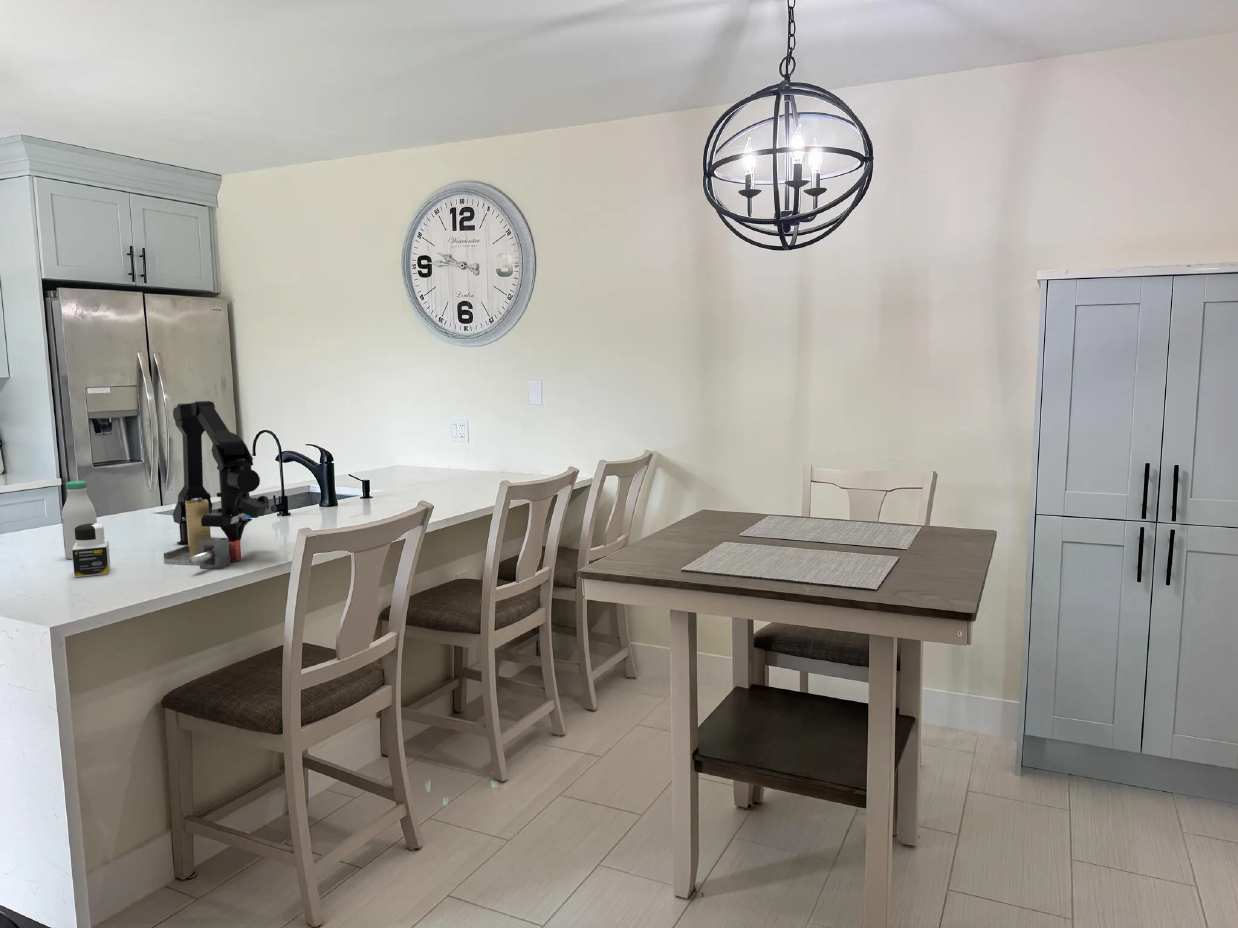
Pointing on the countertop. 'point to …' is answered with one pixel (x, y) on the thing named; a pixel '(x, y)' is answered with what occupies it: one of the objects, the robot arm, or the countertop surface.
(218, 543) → the block
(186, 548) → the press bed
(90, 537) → the medicine bottle
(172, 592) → the countertop surface
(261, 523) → the countertop surface
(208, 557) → the ram handle
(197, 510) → the tan wooden block
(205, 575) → the countertop surface
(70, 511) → the milk bottle
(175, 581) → the countertop surface
